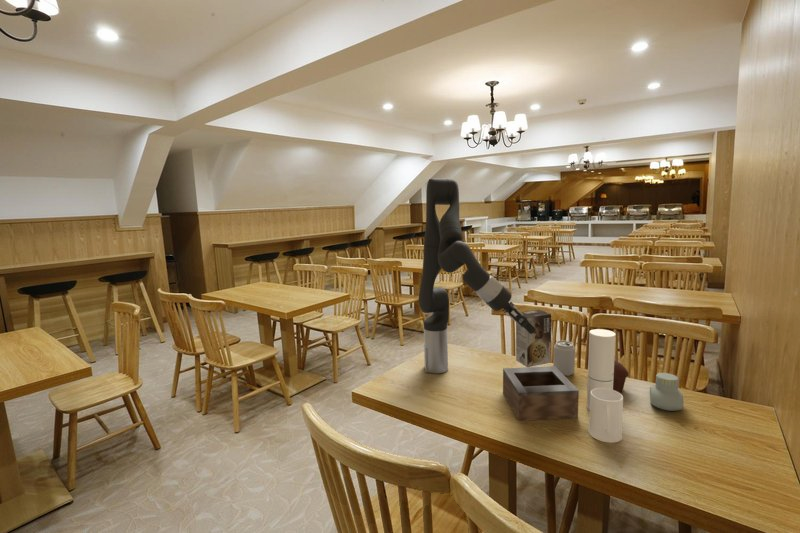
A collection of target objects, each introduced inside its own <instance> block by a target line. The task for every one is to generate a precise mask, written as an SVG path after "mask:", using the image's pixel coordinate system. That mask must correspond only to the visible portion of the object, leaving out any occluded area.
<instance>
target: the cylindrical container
mask: <svg viewBox="0 0 800 533" xmlns="http://www.w3.org/2000/svg"><path fill="white" fill-rule="evenodd" d="M588 333H589V334H588V335H589V336H588V337H589V339H588V359H587V361H588V362H587V389H586V390H587V392H586V408H587V410H588V411H589V412H590V395H591V390H593V389H595V388H607V389H612V390H613V377H614V360H615V353H616V352H615V351H616V333H615V332H614V331H612V330H609V329H602V328H596V329H591V330H589V332H588Z"/></svg>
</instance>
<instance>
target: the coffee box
mask: <svg viewBox="0 0 800 533" xmlns="http://www.w3.org/2000/svg"><path fill="white" fill-rule="evenodd" d="M520 312H521V313H522V314H523V317H524V318H525V319H527V320H528V322H529V323H530V324H531V325H532V326H533V327H534V328H535V329H536V330H535V331H534V332H533V333H532V334H530V333H529V332H528V331H527V330H526V329H525V328H524V327H521V326H520V324H519V323H518V322H515V362H518V363H520V364H521V365H523V366H524V367H537V366H541V365H546V364H551V363H552V313H549V312H547V311H544V310H542V309H535V310H534V309H533V310H526V311H520ZM523 320H524V319H523V318H521V319H520V320H519V322H520V323H521V322H522V321H523Z"/></svg>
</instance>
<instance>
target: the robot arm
mask: <svg viewBox="0 0 800 533" xmlns="http://www.w3.org/2000/svg"><path fill="white" fill-rule="evenodd" d="M425 198H426V200H425V203H426V204H425V205H426V207H425V209H426V210H425V211H426V212H425V215H426V216H425V230H424V241H423V252H422V253H423V254H422V255H423V260H422V261H423V262H422V271H421V272H422V273H421V279H420V286H419V291H418V292H419V293H418V306H419V309H420V311H421V312H422V313H424V314H430V313H432V314H431V315H430V316H429V317H428V318H426V319H425V320H424V321H423V340H424V342H423V353H424V354H423V356H424V359H423V360H424V371H425V373H430V374H443V373H446V372H448V371H449V359H448V358H449V357H448V356H449V352H448V351H449V350H448V348H449V347H448V323H449V317H450V316H449V314H450V299H449V298H450V297H449V294H448V293H449V292H448V291H447V289H445V288H444V287H441V286H439V287H435V282H436V279H437V277H438V275H439V273H440V272H441V270H443V272H446V273H450V274H451V273H454V272H456V271H457V270H459V269H460V268H461V267H462V266H463V265H465V266H466V268H467V269H466V270H465V271H464V273H463V275H462V280H463V282H464V283H465V284H466V285H467V286H468V287H469V288H470V289H471V290H472V291H474V293H475V294H476V295H477V296H478V297H479V298H480V299H481V301H482V302H484V303H485V304H486V305H487V306H488V307H489V308H490V309H491V310H492V311H494V312H499V311H501V310H502V312H503V313H504V314H505V315H506V316H507V317H509V318H510V319H511V320H512V321H513V322H515V323H516V322H518V323H519V324H520V326H521V327H524V328H525V329H526V330H527V331H528V332H529V333H530V334H532V333H533V332H534V331H535V330H536V329H535V328H534V327H533V326H532V325H531V324H530V323H529V322H528V320H527V319H525V318H524V317H523V314H522V313H521V312H522V311H520V310H519V309H518V307H517V305H515V304H514V303H513V302H512V301H511V300H512V296H513V295H512V293H511V292H510V290H508V289H507V288H506V287H505V286H504V285H503V284H502V283H500V281H499V280H497V278H495V277H494V276H493V275H491V274H490V273H489V272H488V271H487V270H486V269H485V268H484V267H482V265H481V264H480V262H479V261H478V259H477V258H476V256H475V254H474V252H473V251H472V249H471V247H470V246H469V245H468V244H467V243H466V242H464V241H463V232H462V227H461V220H460V219H461V218H460V192H459V184H458V182H457V180H456V179H454V178H441V177H440V178H439V177H438V178H437V177H436V178H435V177H430V179H428V181H427V184H426V197H425ZM437 205H444V206H447V205H449V207H448V208H447V209H446V211H445V212H444V214H443V215H442V216H441V218H440V220H439V217H438V215H437V211H436V206H437ZM521 318H523V319H524V320H523V321H522V322H521V323H520V322H519V320H520V319H521Z"/></svg>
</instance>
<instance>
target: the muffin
mask: <svg viewBox="0 0 800 533" xmlns="http://www.w3.org/2000/svg"><path fill="white" fill-rule="evenodd" d="M629 373H630V372H629V371H628V369H627V368H626V367H625V366H624V365H623V364H622V363H621V362H619V361H618V360H615V359H614V377H613V390H615V391H617V392H619V393H620V394H623V391H624V387H625V383H626V379H627V377H629V376H630V374H629Z"/></svg>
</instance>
